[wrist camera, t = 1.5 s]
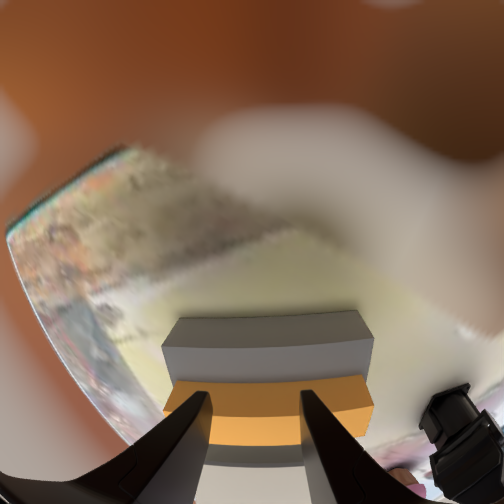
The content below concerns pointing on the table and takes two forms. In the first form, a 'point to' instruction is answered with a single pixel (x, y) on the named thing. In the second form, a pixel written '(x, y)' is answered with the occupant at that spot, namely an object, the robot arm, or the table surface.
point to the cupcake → (408, 481)
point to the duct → (267, 363)
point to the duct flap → (253, 485)
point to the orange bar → (275, 408)
